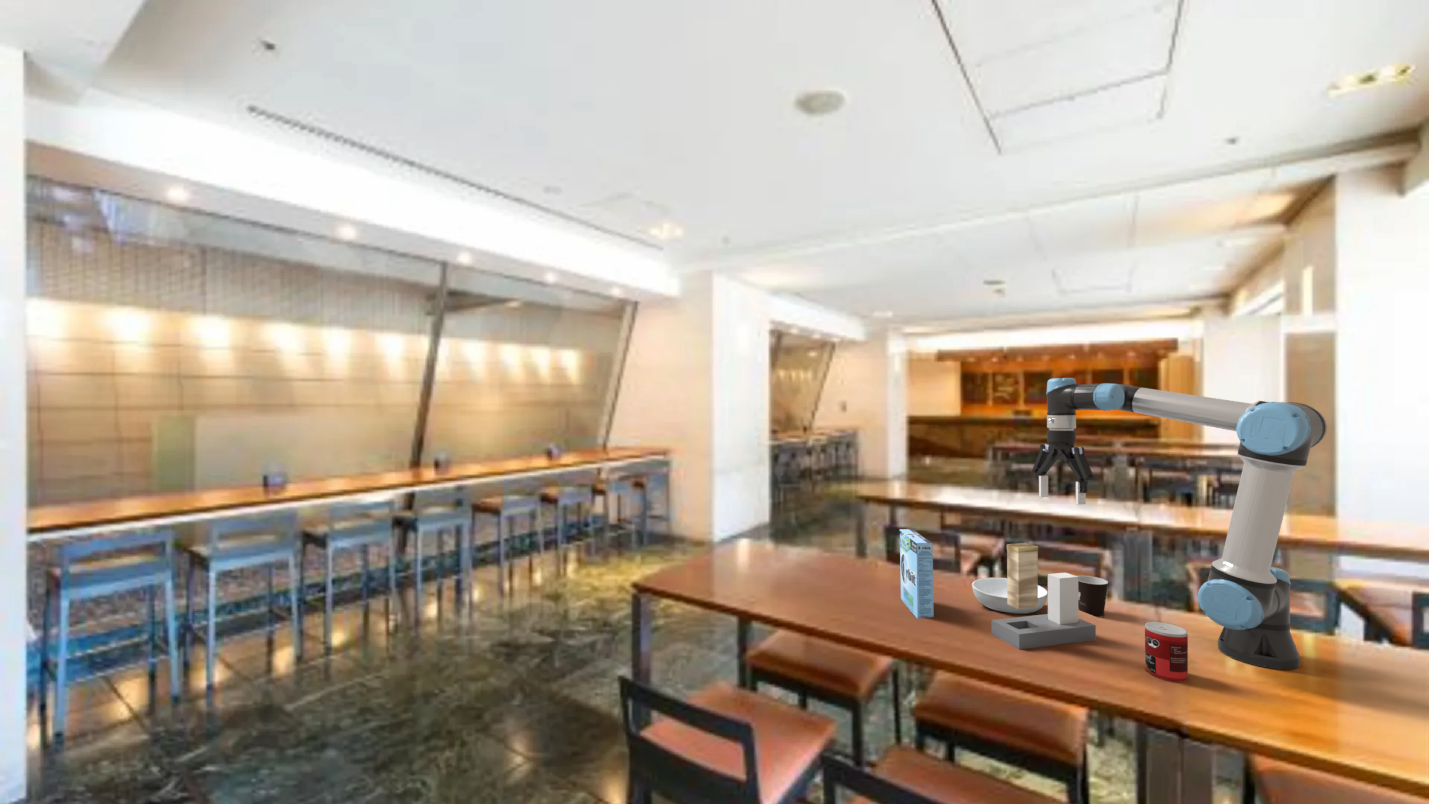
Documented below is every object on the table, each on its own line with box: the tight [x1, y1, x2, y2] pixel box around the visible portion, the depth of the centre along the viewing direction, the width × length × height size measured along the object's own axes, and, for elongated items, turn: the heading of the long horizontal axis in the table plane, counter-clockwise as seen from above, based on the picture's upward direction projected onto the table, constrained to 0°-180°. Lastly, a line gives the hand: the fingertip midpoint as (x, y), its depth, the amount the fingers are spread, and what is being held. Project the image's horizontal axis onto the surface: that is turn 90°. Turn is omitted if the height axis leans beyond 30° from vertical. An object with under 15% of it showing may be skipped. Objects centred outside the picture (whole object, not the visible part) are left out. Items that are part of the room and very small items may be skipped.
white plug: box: [1047, 572, 1079, 625], centre depth 158 cm, size 4×6×16 cm, turn 104°
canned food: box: [1144, 621, 1189, 683], centre depth 137 cm, size 8×8×11 cm
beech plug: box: [1006, 542, 1039, 609], centre depth 155 cm, size 4×6×16 cm
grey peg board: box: [991, 613, 1097, 650], centre depth 156 cm, size 10×24×5 cm, turn 104°
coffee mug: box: [1076, 575, 1109, 618], centre depth 179 cm, size 12×9×10 cm
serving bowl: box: [971, 577, 1048, 615], centre depth 181 cm, size 21×21×7 cm
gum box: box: [899, 528, 935, 620], centre depth 181 cm, size 20×5×23 cm, turn 177°
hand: (1061, 500), depth 175 cm, fingers open, 13 cm apart
